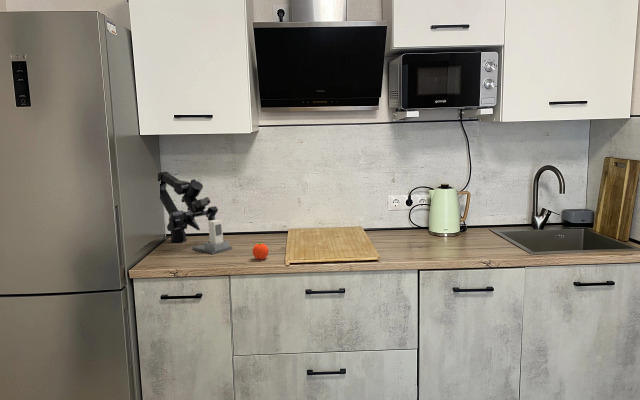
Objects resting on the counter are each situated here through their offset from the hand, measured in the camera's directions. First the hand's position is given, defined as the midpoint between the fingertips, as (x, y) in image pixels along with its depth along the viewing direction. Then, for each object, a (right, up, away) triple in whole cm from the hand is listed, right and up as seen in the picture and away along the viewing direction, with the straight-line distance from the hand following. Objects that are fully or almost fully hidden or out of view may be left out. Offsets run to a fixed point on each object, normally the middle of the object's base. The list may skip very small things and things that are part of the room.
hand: (207, 228), depth 233 cm
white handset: (+5, -9, -3) cm, 11 cm away
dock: (+2, -10, 0) cm, 10 cm away
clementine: (+28, -12, -20) cm, 36 cm away
